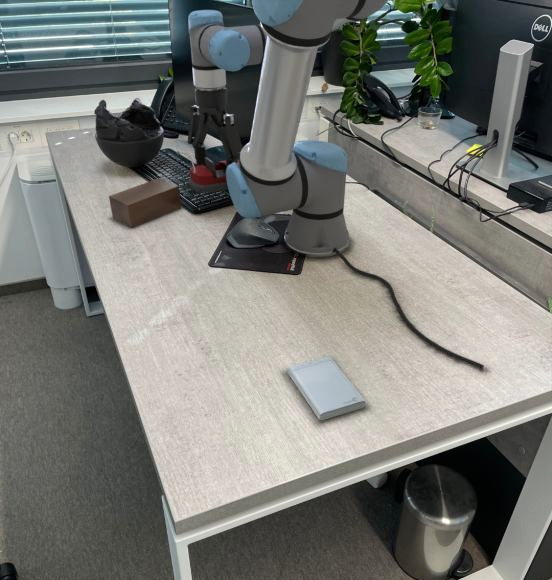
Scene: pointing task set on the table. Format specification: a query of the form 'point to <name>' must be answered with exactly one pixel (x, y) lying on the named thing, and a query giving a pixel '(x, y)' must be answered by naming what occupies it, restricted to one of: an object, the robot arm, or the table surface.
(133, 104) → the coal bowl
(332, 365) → the hard drive
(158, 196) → the walnut block
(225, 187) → the bumper car
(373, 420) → the table surface
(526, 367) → the table surface
